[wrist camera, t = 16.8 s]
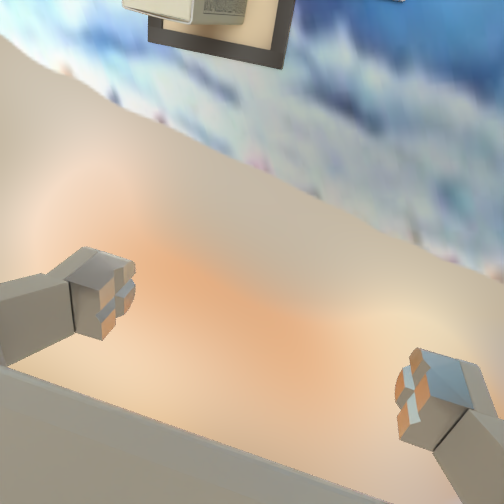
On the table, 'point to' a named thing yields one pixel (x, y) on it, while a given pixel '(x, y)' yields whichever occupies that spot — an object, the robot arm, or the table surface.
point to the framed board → (234, 34)
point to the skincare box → (192, 10)
